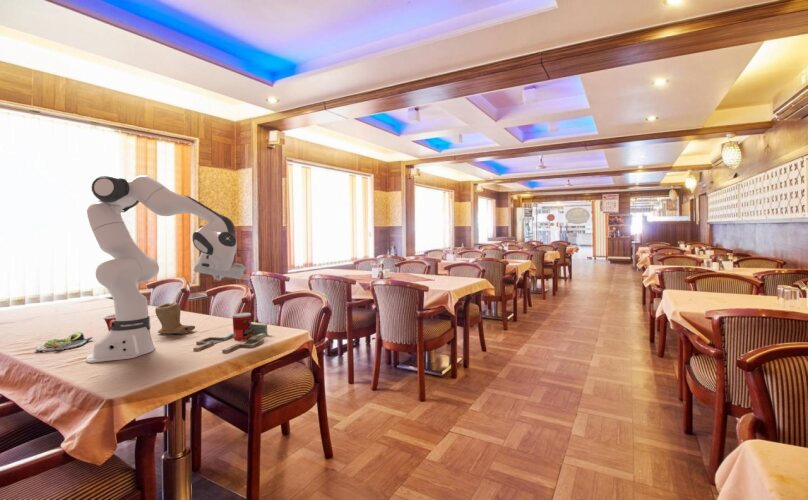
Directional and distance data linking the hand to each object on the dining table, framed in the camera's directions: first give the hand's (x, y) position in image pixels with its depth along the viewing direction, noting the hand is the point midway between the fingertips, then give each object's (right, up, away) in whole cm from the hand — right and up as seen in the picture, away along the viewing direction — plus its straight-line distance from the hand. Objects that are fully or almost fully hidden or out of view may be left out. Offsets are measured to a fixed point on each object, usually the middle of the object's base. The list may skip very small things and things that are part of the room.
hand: (217, 278), depth 182 cm
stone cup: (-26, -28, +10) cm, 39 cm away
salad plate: (-65, -30, -6) cm, 72 cm away
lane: (+11, -27, -8) cm, 30 cm away
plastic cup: (-46, -29, +1) cm, 54 cm away
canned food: (+12, -27, -1) cm, 30 cm away
